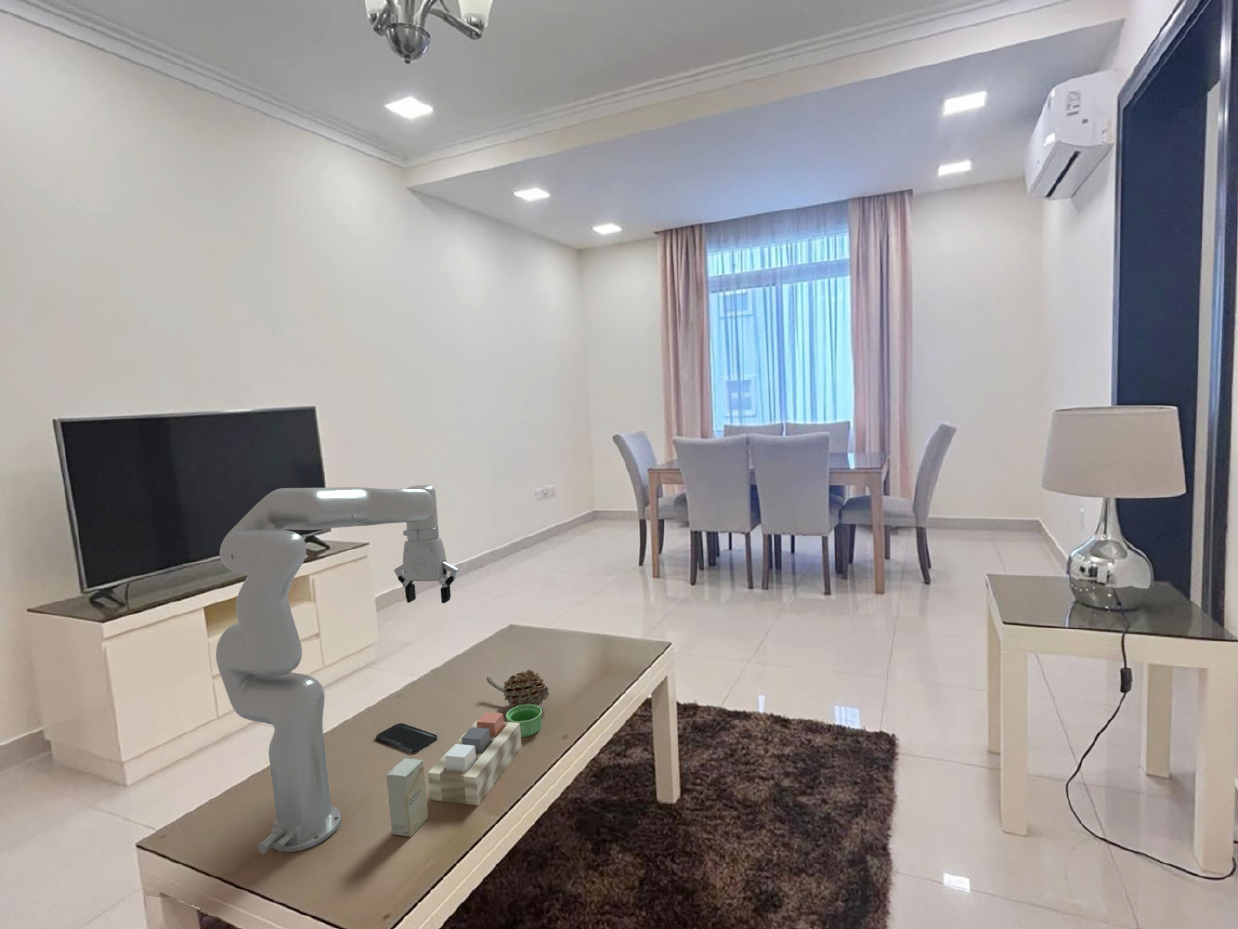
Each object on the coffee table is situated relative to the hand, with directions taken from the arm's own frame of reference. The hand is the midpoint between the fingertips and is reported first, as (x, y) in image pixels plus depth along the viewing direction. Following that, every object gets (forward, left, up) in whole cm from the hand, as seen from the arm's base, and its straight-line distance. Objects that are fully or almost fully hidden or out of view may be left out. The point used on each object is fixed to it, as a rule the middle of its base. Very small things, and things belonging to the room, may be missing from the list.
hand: (428, 601), depth 160 cm
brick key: (-11, -20, -29) cm, 37 cm away
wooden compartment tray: (-18, -20, -33) cm, 42 cm away
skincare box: (-37, -15, -33) cm, 52 cm away
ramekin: (+1, -23, -33) cm, 40 cm away
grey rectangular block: (-18, -20, -29) cm, 40 cm away
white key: (-25, -20, -29) cm, 43 cm away
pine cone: (+13, -15, -33) cm, 39 cm away
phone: (-8, +5, -33) cm, 35 cm away
